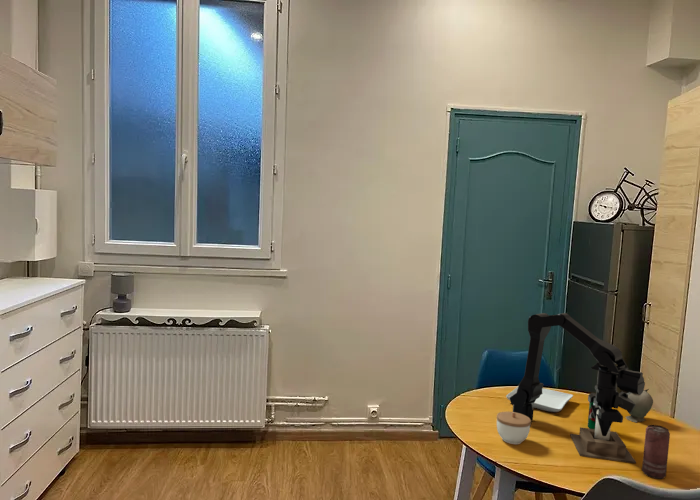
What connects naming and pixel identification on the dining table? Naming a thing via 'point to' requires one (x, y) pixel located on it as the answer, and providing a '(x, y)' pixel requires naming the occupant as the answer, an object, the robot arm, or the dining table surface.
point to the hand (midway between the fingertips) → (602, 432)
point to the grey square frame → (601, 446)
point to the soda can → (591, 418)
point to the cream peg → (598, 431)
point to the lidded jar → (513, 427)
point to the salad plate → (548, 400)
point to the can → (656, 451)
